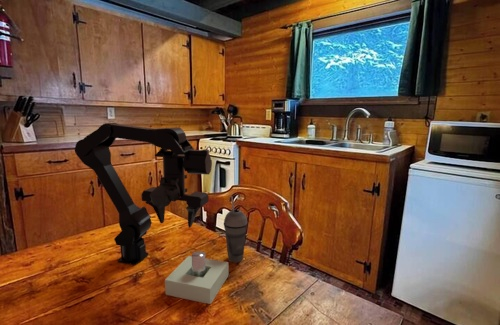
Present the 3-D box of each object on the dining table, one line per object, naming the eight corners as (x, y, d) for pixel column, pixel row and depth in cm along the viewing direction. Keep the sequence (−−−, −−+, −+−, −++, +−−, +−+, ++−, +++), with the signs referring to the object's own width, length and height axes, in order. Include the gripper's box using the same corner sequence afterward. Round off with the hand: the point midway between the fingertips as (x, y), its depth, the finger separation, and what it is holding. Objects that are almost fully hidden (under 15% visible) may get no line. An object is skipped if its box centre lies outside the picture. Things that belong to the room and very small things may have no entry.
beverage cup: (244, 266, 80) (244, 200, 77) (220, 263, 82) (220, 199, 78) (249, 254, 87) (250, 193, 84) (227, 251, 89) (227, 192, 85)
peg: (189, 285, 71) (189, 256, 69) (195, 278, 74) (195, 250, 73) (201, 288, 70) (201, 258, 68) (207, 280, 73) (207, 252, 72)
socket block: (165, 294, 68) (164, 279, 67) (189, 268, 79) (188, 255, 78) (210, 304, 64) (210, 288, 64) (228, 275, 76) (228, 262, 75)
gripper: (125, 176, 72) (129, 231, 75) (189, 182, 67) (191, 242, 70) (152, 168, 83) (154, 217, 85) (209, 173, 77) (209, 225, 80)
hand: (175, 225), depth 80 cm, fingers open, 9 cm apart
